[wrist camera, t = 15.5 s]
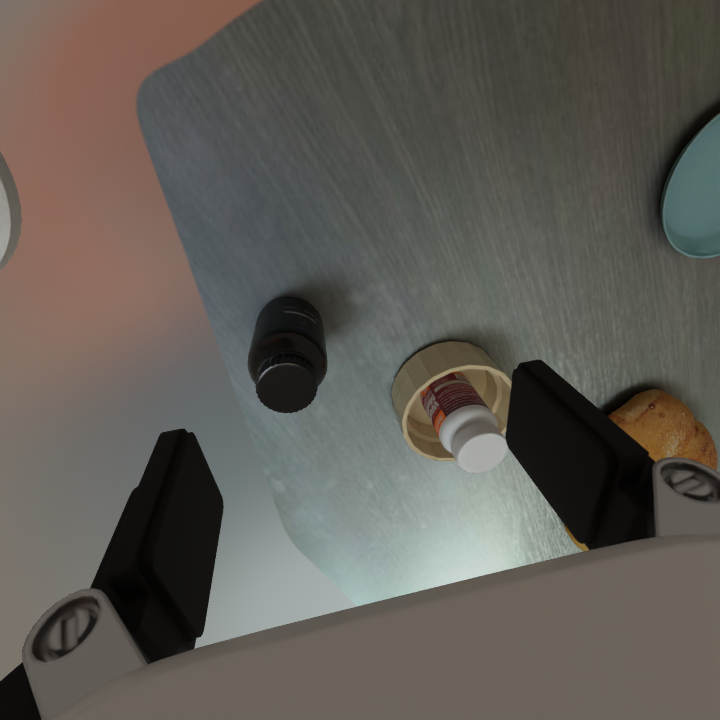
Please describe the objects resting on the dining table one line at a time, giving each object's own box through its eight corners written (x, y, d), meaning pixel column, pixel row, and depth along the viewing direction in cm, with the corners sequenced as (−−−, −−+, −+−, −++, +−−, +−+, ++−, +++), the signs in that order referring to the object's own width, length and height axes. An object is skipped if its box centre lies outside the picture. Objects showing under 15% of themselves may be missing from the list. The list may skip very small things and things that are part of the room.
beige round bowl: (395, 436, 50) (406, 470, 45) (385, 350, 43) (397, 379, 38) (490, 417, 51) (513, 448, 46) (495, 329, 44) (522, 354, 39)
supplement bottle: (313, 287, 39) (320, 341, 28) (329, 345, 42) (340, 412, 32) (246, 303, 38) (229, 363, 28) (267, 360, 42) (259, 433, 32)
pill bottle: (412, 378, 45) (445, 443, 35) (462, 359, 45) (508, 420, 35) (425, 416, 48) (458, 485, 39) (471, 398, 48) (516, 464, 38)
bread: (661, 515, 69) (713, 568, 60) (555, 542, 68) (593, 600, 59) (715, 364, 52) (798, 409, 44) (576, 398, 51) (633, 450, 43)
